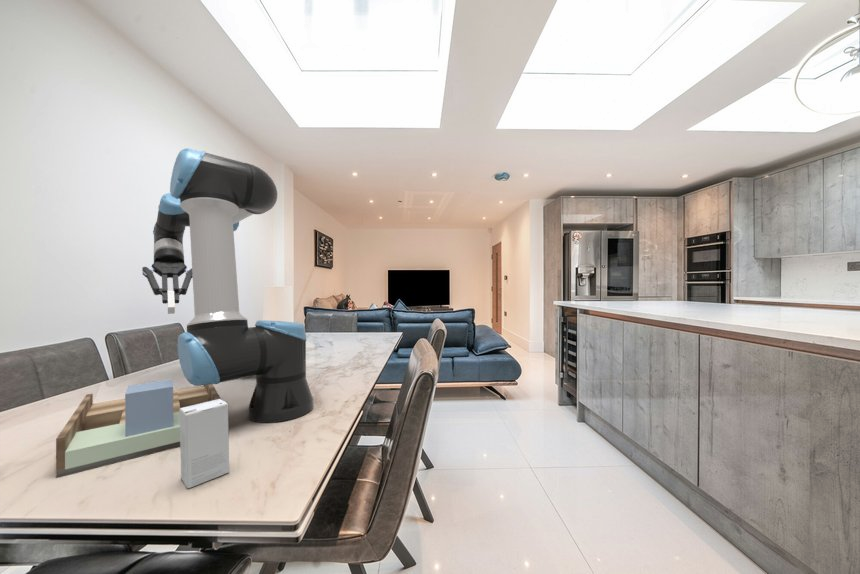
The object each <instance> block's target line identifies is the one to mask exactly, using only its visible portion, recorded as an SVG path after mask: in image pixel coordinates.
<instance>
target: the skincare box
mask: <svg viewBox="0 0 860 574" xmlns="http://www.w3.org/2000/svg"><path fill="white" fill-rule="evenodd" d="M179 413H180V447H179V449H180V479H181V480H182V482H183V484H184V486H185V487H186V488H187V489H191V488H193V487H195V486H198V485H200V484H203V483H206V482H208V481H211V480H213V479H217V478H218V477H221V476H223V475H225V474H229V473H230V449H229V447H230V444H229V442H230V441H229V404H228V403H227V402H226V401H225V400H223V399H222V398H221V399H217V400H213V401H209V402H204V403H200V404H196V405H192V406H188V407H183V408H180V410H179Z"/></svg>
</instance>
